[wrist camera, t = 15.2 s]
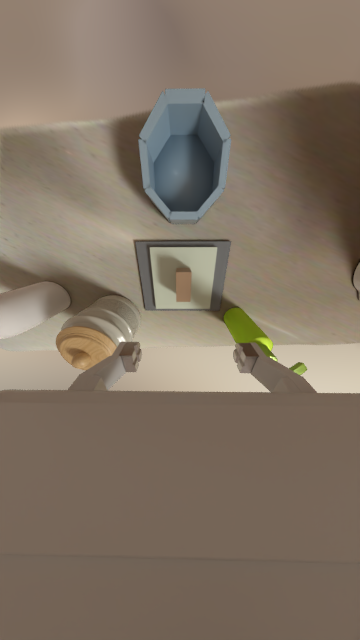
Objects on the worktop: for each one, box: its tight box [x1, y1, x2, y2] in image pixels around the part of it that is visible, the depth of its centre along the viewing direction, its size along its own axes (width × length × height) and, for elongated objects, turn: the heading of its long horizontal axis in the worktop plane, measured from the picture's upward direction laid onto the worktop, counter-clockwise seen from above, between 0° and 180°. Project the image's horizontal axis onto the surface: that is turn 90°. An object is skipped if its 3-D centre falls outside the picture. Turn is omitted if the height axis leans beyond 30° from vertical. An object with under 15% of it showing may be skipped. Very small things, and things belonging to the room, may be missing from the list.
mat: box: [135, 241, 231, 310], centre depth 32 cm, size 20×16×1 cm
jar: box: [56, 295, 141, 370], centre depth 29 cm, size 13×13×18 cm
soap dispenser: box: [223, 308, 307, 375], centre depth 28 cm, size 6×7×20 cm
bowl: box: [138, 89, 231, 224], centre depth 21 cm, size 12×12×6 cm
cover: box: [150, 247, 217, 309], centre depth 29 cm, size 14×14×6 cm
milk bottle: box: [0, 281, 71, 339], centre depth 25 cm, size 8×8×20 cm
